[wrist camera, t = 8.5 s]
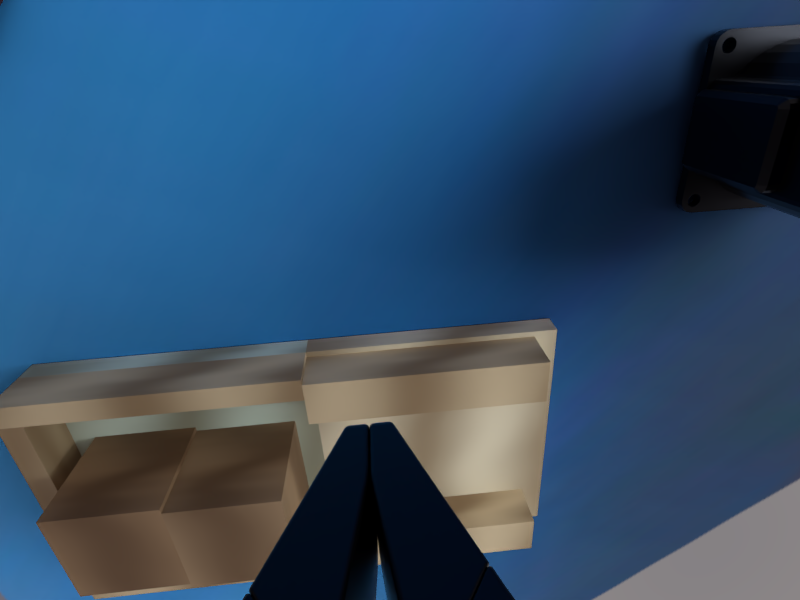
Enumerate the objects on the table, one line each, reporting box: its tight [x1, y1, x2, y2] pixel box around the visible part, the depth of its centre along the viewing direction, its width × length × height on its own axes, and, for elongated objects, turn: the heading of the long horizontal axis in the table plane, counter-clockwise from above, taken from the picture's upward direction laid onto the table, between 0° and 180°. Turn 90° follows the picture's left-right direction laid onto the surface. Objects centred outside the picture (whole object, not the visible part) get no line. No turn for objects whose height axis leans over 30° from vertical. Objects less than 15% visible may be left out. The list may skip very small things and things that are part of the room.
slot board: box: [0, 318, 557, 599], centre depth 23 cm, size 23×12×3 cm, turn 94°
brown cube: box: [161, 421, 309, 587], centre depth 21 cm, size 4×4×4 cm
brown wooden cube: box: [36, 427, 197, 596], centre depth 21 cm, size 4×4×4 cm
